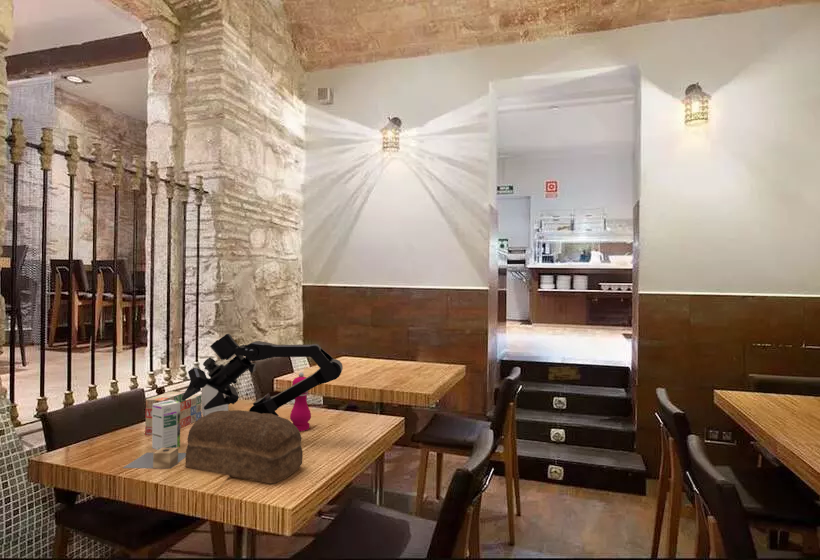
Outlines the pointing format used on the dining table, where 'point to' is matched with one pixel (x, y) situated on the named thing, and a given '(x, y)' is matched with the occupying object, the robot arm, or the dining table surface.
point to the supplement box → (208, 395)
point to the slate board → (149, 461)
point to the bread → (245, 445)
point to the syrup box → (166, 424)
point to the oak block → (165, 458)
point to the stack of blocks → (188, 408)
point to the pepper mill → (300, 408)
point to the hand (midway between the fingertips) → (193, 403)
